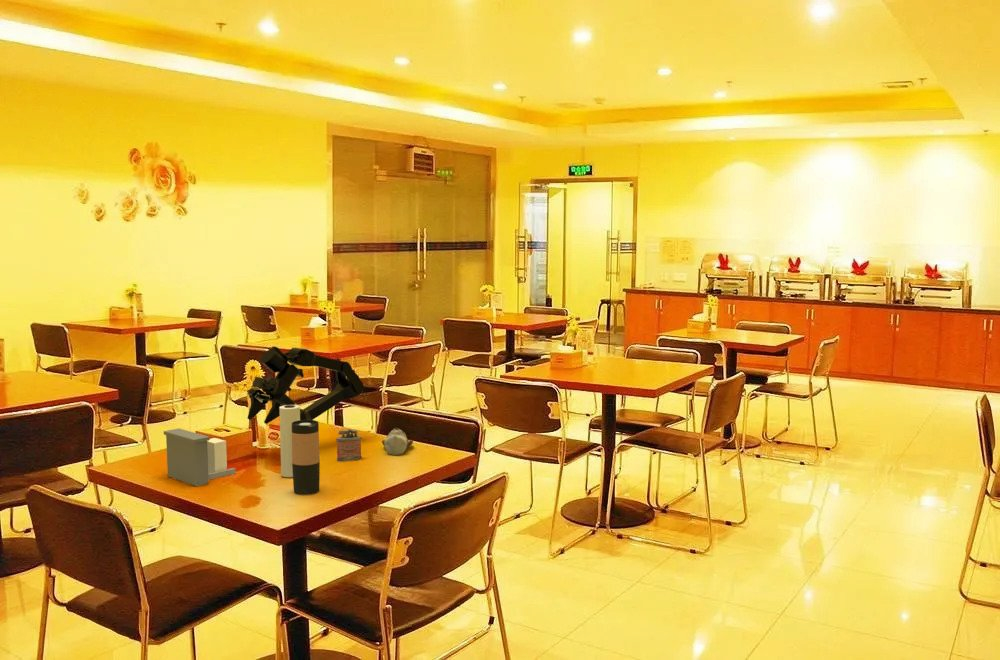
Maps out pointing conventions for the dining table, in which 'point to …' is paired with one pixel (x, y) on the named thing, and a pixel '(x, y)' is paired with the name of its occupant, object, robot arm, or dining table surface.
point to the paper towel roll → (287, 436)
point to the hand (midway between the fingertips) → (256, 421)
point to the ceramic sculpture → (396, 442)
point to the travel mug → (305, 457)
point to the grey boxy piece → (189, 457)
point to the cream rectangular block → (216, 455)
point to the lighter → (348, 445)
